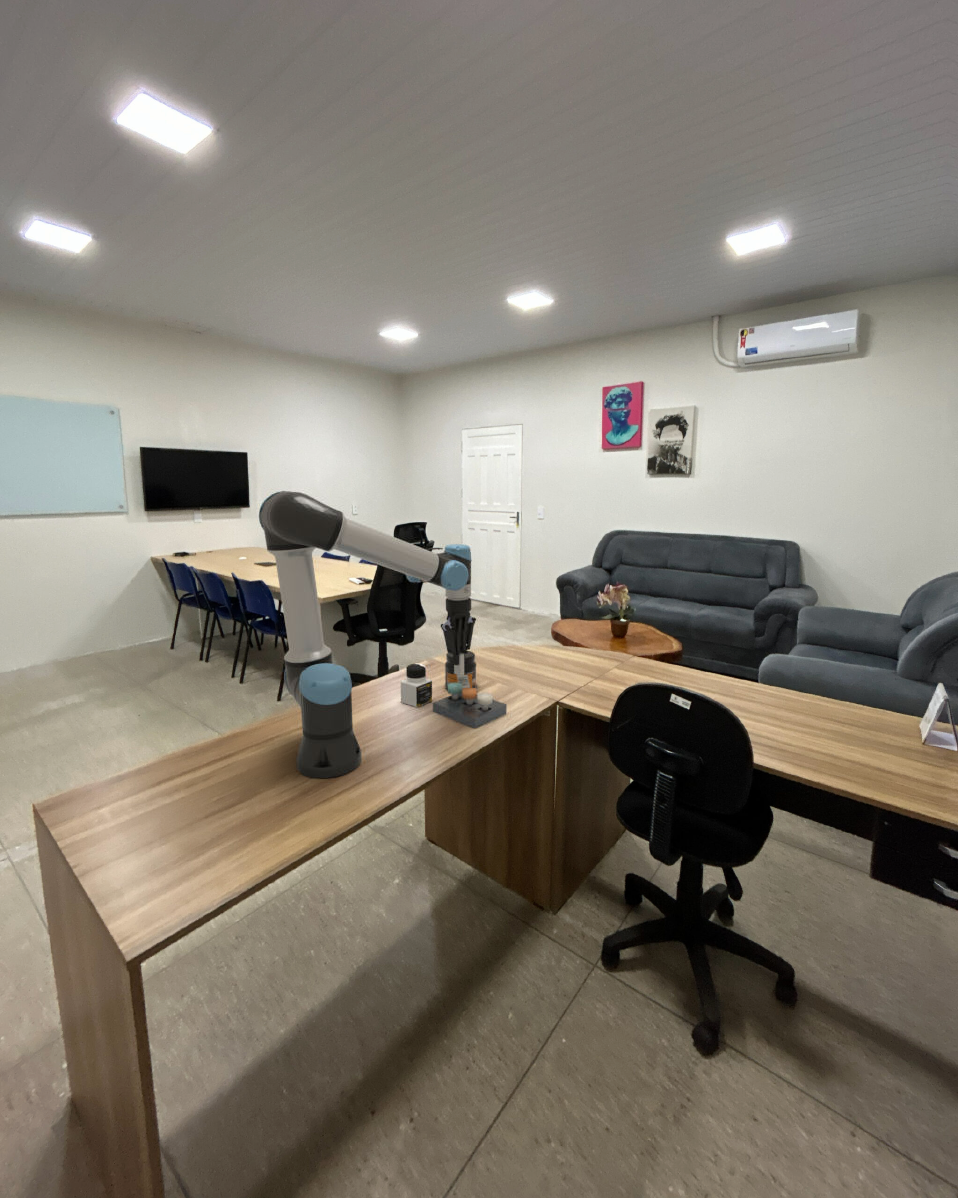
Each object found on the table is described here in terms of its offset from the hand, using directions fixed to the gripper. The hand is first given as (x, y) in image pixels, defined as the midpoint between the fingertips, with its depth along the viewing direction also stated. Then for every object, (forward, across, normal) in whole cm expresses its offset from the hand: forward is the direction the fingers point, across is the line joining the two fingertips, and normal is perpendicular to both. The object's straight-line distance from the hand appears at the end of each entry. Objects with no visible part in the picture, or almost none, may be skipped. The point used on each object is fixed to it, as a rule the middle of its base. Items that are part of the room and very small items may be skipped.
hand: (459, 674), depth 161 cm
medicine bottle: (+11, -6, +13) cm, 18 cm away
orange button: (+9, 0, -5) cm, 10 cm away
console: (+11, 0, -5) cm, 12 cm away
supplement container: (+11, +12, +12) cm, 20 cm away
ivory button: (+9, 0, -11) cm, 14 cm away
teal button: (+9, 0, +1) cm, 9 cm away
